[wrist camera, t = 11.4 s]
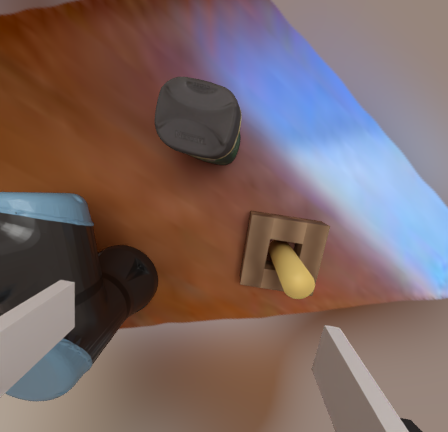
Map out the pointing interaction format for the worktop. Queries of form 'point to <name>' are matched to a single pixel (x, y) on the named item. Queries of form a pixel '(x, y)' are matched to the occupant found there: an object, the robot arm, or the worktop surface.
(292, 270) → the peg
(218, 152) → the coffee jar
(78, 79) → the worktop surface
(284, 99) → the worktop surface
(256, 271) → the socket block
